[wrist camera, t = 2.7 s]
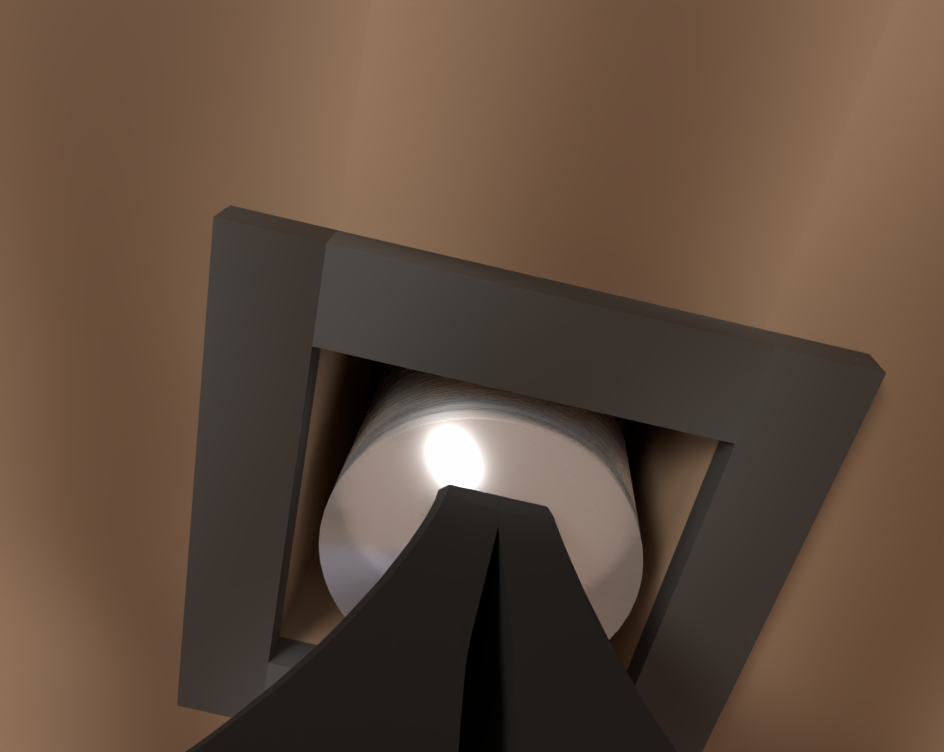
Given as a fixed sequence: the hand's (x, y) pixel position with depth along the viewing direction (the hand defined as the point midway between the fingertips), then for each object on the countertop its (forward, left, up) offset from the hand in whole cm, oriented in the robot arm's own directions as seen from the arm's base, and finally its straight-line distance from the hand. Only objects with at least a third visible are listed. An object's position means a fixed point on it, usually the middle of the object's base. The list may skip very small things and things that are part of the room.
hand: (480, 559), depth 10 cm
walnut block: (0, 0, -5) cm, 5 cm away
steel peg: (0, 0, -5) cm, 5 cm away
